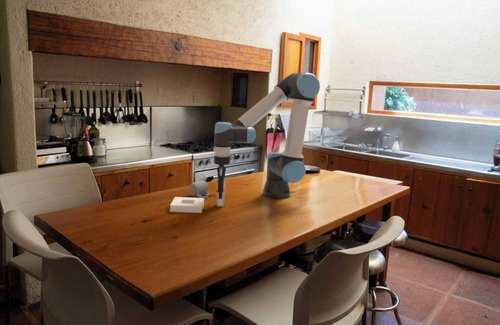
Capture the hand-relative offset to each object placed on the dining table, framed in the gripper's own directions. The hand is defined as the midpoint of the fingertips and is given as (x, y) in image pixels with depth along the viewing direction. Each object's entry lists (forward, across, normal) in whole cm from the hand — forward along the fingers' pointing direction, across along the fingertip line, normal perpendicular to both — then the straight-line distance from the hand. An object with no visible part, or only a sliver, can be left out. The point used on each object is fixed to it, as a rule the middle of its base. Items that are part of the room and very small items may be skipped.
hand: (220, 203), depth 196 cm
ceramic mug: (+1, -16, -11) cm, 20 cm away
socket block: (+1, +5, -15) cm, 16 cm away
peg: (+1, 0, 0) cm, 1 cm away
